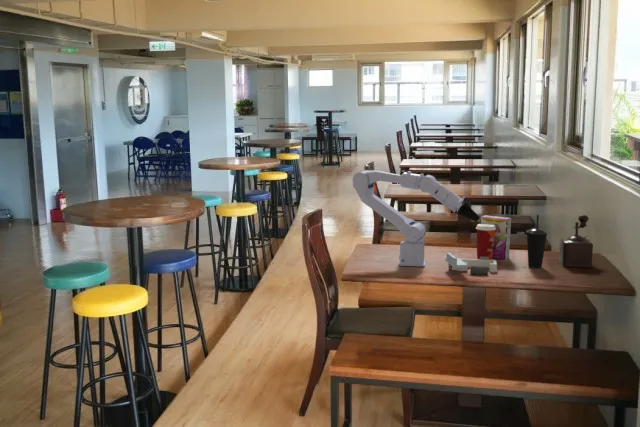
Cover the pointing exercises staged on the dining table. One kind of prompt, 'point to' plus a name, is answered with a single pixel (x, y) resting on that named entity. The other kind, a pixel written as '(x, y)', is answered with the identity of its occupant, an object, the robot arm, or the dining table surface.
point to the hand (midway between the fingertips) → (477, 219)
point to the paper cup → (485, 240)
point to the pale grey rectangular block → (477, 264)
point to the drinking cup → (536, 246)
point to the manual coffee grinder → (576, 248)
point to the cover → (454, 261)
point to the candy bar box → (499, 235)
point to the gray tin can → (479, 270)
